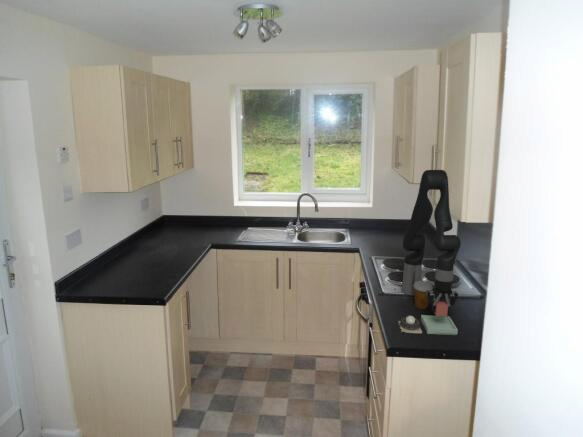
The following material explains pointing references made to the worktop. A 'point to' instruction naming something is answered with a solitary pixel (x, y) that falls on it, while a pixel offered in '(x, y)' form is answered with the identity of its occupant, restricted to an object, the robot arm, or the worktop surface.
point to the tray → (438, 325)
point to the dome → (410, 320)
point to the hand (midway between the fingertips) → (440, 312)
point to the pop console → (409, 326)
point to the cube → (441, 308)
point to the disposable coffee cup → (421, 293)
